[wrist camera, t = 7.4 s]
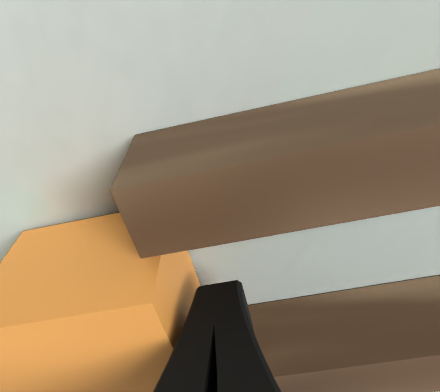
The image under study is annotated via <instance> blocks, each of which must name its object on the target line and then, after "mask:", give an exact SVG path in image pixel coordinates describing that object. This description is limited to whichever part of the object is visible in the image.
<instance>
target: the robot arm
mask: <svg viewBox="0 0 440 392" xmlns="http://www.w3.org/2000/svg"><path fill="white" fill-rule="evenodd" d="M153 392H281V390H280V388H279V386H278V384H277V383H276V381H275V379H274V377H273V375H272V372H271V370H270V368H269V366H268V364H267V362H266V360H265V358H264V355H263V353H262V351H261V349H260V346H259V344H258V341H257V339H256V336H255V334H254V330H253V324H252V320H251V316H250V312H249V309H248V305H247V301H246V298H245V294H244V290H243V286H242V283H241V282H239V281H237V280H235V281H229V282H223V283H217V284H211V285H205V286H199V287H198V288H197V289H196V292H195V295H194V298H193V301H192V304H191V307H190V310H189V312H188V315H187V318H186V320H185V323H184V325H183V328H182V330H181V333H180V335H179V337H178V340H177V342H176V344H175V347H174V349H173V351H172V354H171V356H170V358H169V360H168V362H167V364H166V366H165V368H164V370H163V372H162V374H161V376H160V378H159V380H158V382H157V384H156V386H155V388H154V390H153Z"/></svg>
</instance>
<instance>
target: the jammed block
mask: <svg viewBox="0 0 440 392" xmlns="http://www.w3.org/2000/svg"><path fill="white" fill-rule="evenodd" d="M199 286H201V285H200V283H199V280H198V277H197V274H196V271H195V269H194V266H193V263H192V260H191V257H190V254H189V252H188V250H187V251H182V252H176V253H170V254H165V255H159V256H153V257H148V258H142V259H140V257H139V254H138V252H137V250H136V248H135V245H134V243H133V241H132V239H131V237H130V234H129V232H128V230H127V228H126V225H125V223H124V221H123V219H122V217H121V214H120V213H114V214H109V215H104V216H99V217H94V218H89V219H83V220H78V221H73V222H68V223H63V224H58V225H52V226H47V227H42V228H37V229H32V230H27V231H23V232H22V233H21V235H20V236H19V237H18V239H17V240H16V242H15V243H14V244H13V246H12V247H11V249H10V250H9V251H8V253H7V254H6V256H5V257H4V258H3V260H2V261H1V263H0V392H153V390H154V388H155V386H156V384H157V382H158V380H159V378H160V376H161V374H162V372H163V370H164V368H165V366H166V364H167V362H168V360H169V358H170V356H171V354H172V351H173V349H174V347H175V344H176V342H177V340H178V337H179V335H180V333H181V330H182V328H183V325H184V323H185V320H186V318H187V315H188V312H189V310H190V307H191V304H192V301H193V298H194V295H195V292H196V289H197V288H198V287H199Z"/></svg>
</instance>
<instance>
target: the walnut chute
mask: <svg viewBox="0 0 440 392" xmlns="http://www.w3.org/2000/svg"><path fill="white" fill-rule="evenodd" d="M110 192H111V194H112V197H113V199H114V201H115V203H116V205H117V208H118V210H119V212H120V214H121V217H122V219H123V221H124V223H125V225H126V228H127V230H128V232H129V234H130V237H131V239H132V241H133V243H134V245H135V248H136V250H137V252H138V254H139V257H140V259H142V258H148V257H153V256H159V255H165V254H170V253H176V252H182V251H187V250H193V249H198V248H204V247H210V246H215V245H221V244H227V243H232V242H238V241H244V240H249V239H255V238H260V237H266V236H272V235H277V234H283V233H289V232H294V231H300V230H305V229H311V228H317V227H322V226H328V225H334V224H339V223H345V222H351V221H356V220H362V219H367V218H373V217H379V216H384V215H390V214H396V213H401V212H407V211H412V210H418V209H424V208H429V207H435V206H440V69H435V70H431V71H426V72H422V73H417V74H412V75H408V76H403V77H399V78H394V79H389V80H385V81H380V82H376V83H371V84H366V85H362V86H357V87H353V88H348V89H343V90H339V91H334V92H330V93H325V94H320V95H316V96H311V97H307V98H302V99H298V100H293V101H288V102H284V103H279V104H275V105H270V106H265V107H261V108H256V109H252V110H247V111H242V112H238V113H233V114H229V115H224V116H219V117H215V118H210V119H206V120H201V121H196V122H192V123H187V124H183V125H178V126H174V127H169V128H164V129H160V130H155V131H151V132H146V133H141V134H137V135H135V137H134V139H133V141H132V144H131V146H130V148H129V150H128V152H127V154H126V156H125V159H124V161H123V163H122V165H121V167H120V169H119V171H118V174H117V176H116V178H115V180H114V182H113V184H112V186H111V189H110ZM248 309H249V312H250V316H251V320H252V324H253V330H254V334H255V336H256V339H257V341H258V344H259V346H260V349H261V351H262V353H263V355H264V358H265V360H266V362H267V364H268V366H269V368H270V370H271V372H272V375H273V377H274V379H275V381H276V383H277V384H278V386H279V388H280V390H281V392H438V391H440V275H438V276H432V277H425V278H419V279H413V280H406V281H400V282H394V283H387V284H381V285H375V286H368V287H362V288H355V289H349V290H343V291H336V292H330V293H324V294H317V295H311V296H305V297H298V298H292V299H286V300H279V301H273V302H266V303H260V304H254V305H248Z"/></svg>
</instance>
